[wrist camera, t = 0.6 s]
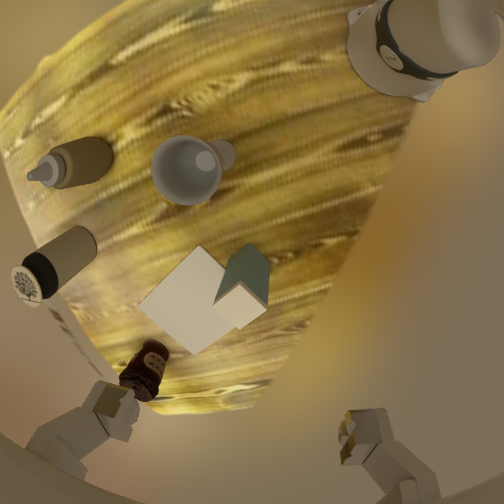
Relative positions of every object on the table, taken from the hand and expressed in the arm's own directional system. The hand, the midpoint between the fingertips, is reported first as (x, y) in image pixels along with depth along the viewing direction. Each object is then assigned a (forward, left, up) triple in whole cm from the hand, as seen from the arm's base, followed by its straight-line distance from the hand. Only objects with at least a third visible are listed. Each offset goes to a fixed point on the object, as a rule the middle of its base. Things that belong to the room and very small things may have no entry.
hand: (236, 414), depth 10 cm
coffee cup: (+41, +9, -39) cm, 58 cm away
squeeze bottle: (+16, -25, -39) cm, 49 cm away
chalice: (+1, -9, -39) cm, 40 cm away
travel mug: (+33, -18, -39) cm, 55 cm away
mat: (+24, +7, -39) cm, 46 cm away
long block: (+10, +7, -39) cm, 41 cm away
